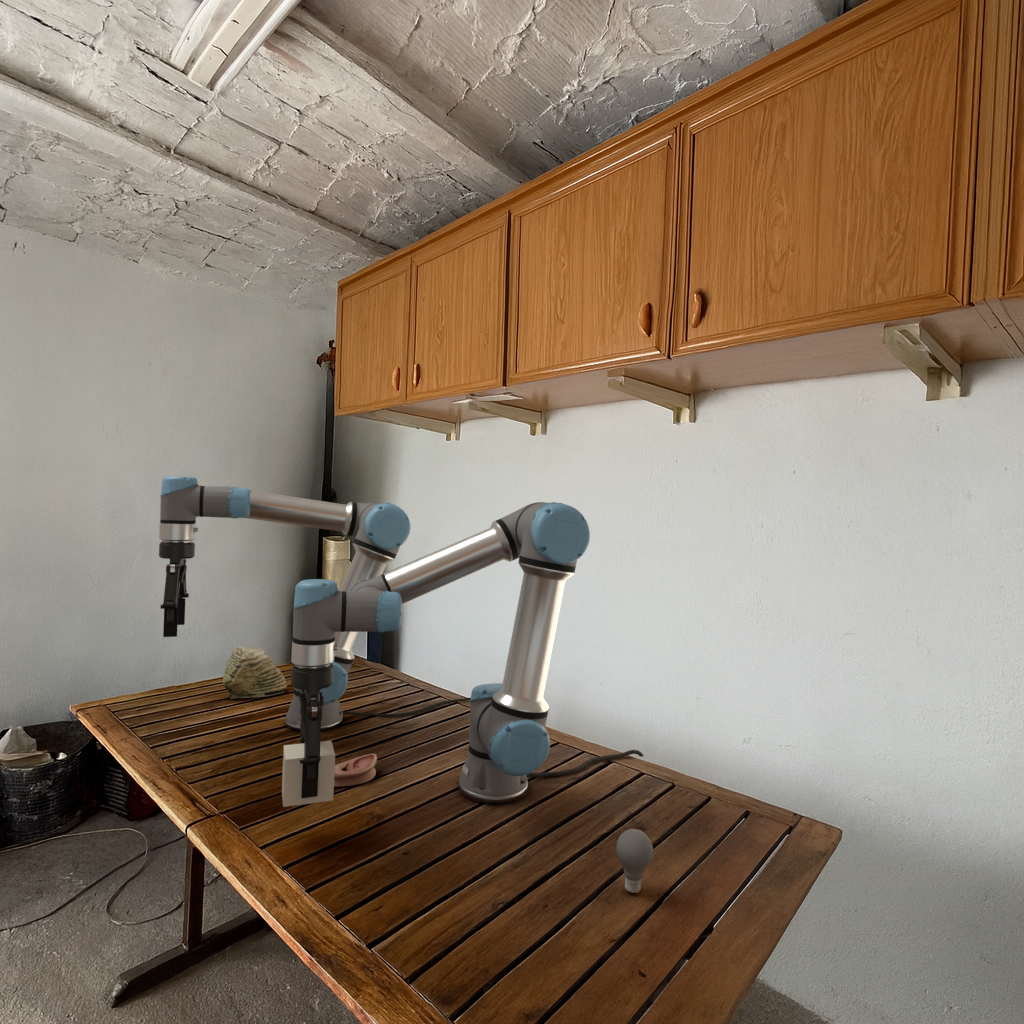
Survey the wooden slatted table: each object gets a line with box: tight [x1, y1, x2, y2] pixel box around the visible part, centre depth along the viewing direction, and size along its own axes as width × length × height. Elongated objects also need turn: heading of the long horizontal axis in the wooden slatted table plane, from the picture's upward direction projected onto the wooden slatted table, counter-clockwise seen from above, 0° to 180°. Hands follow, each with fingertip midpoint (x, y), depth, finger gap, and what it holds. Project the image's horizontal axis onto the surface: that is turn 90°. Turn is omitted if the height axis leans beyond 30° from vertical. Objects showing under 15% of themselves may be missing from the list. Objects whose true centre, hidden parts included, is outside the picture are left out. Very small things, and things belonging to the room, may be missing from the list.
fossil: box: [222, 646, 288, 699], centre depth 198 cm, size 9×18×15 cm, turn 132°
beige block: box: [281, 740, 336, 808], centre depth 117 cm, size 9×7×8 cm
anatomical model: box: [334, 753, 378, 788], centre depth 144 cm, size 13×4×12 cm
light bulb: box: [615, 828, 654, 894], centre depth 106 cm, size 6×6×10 cm
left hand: (174, 630), depth 151 cm, fingers open, 13 cm apart
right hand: (307, 787), depth 117 cm, fingers closed on beige block, 7 cm apart
